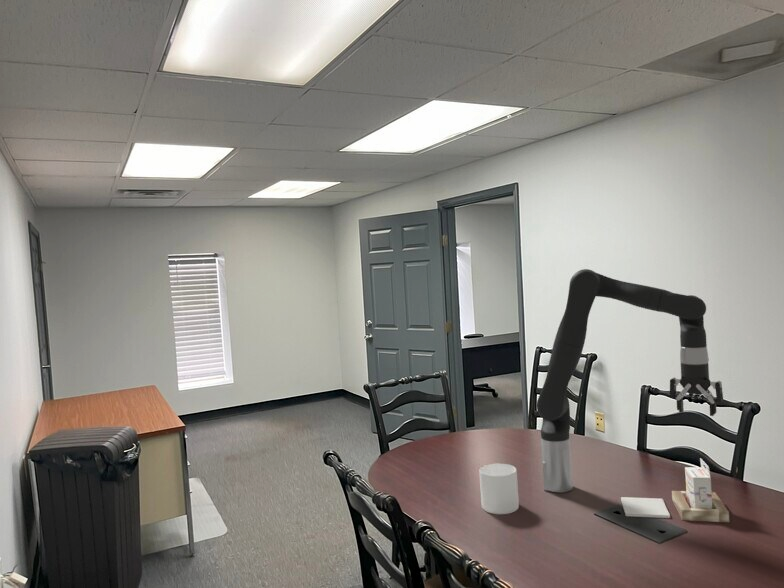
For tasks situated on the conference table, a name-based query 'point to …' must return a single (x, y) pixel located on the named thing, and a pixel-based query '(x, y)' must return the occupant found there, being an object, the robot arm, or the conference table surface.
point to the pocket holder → (697, 514)
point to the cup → (499, 488)
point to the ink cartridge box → (698, 486)
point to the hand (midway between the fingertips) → (696, 413)
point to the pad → (645, 507)
